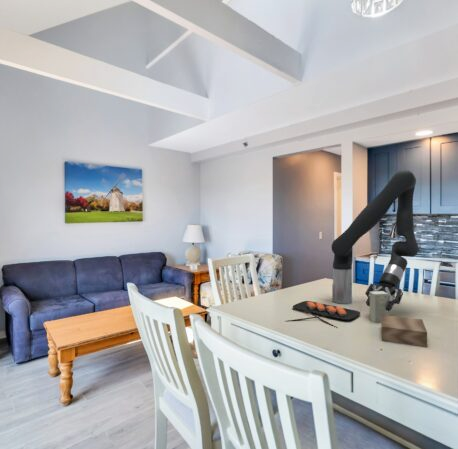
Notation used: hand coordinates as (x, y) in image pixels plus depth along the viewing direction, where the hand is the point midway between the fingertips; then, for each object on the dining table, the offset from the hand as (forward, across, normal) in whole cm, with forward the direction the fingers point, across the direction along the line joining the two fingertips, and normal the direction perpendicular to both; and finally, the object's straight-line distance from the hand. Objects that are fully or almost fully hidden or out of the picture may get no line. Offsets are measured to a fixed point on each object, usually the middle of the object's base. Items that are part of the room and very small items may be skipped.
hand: (377, 307), depth 133 cm
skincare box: (+3, 0, +5) cm, 6 cm away
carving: (-18, -13, +26) cm, 34 cm away
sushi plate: (+15, -20, -6) cm, 26 cm away
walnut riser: (+10, +14, -1) cm, 17 cm away
